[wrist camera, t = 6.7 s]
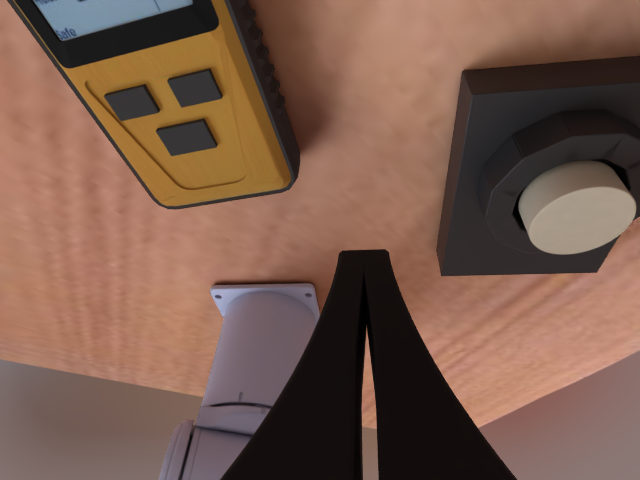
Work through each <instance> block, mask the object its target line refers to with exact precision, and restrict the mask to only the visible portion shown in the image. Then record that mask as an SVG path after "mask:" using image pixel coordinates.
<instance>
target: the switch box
mask: <svg viewBox="0 0 640 480" xmlns="http://www.w3.org/2000/svg"><path fill="white" fill-rule="evenodd" d="M580 160H591V161H597V162H601V163H604V164H606V165H608V166H609V167H611V168H612V169H613V170H614V171H615V173H616V174H617V175H618V177H619V178H620V180H621V181H622V183H623V184H624V185H625V187H626V188H627V190H628V191H629V192H630V194H631V195H632V197H633V198H634V200H635V202H636V214H635V217H634V219H633V221H634V220H635V219H636V218H638V217H639V216H640V56H636V57H624V58H612V59H600V60H588V61H576V62H564V63H552V64H540V65H527V66H515V67H503V68H491V69H479V70H467V71H462V77H461V84H460V91H459V97H458V104H457V111H456V118H455V125H454V132H453V139H452V146H451V153H450V160H449V166H448V173H447V180H446V187H445V194H444V201H443V208H442V215H441V222H440V229H439V235H438V242H437V249H436V251H437V256H438V261H439V267H440V272H441V276H469V275H513V274H556V273H596V272H597V271H598V270H599V268H600V266H601V265H602V263H603V262H604V260H605V258H606V257H607V255H608V253H609V252H610V250H611V249H612V247H613V245H614V244H615V242H616V240H617V239H618V237H619V236H620V235H619V236H618V237H616V238H615V239H613V240H612V241H610V242H608V243H606V244H604V245H602V246H600V247H598V248H595V249H592V250H589V251H585V252H581V253H575V254H552V253H548V252H545V251H542V250H540V249H539V248H537V247H536V246H535V245H534V244H533V243H532V242H531V240H530V238H529V235H528V233H527V230H526V228H525V225H524V223H523V220H522V218H521V215H520V213H519V208H518V206H519V200H520V197H521V194H522V193H523V191H524V190H525V188H526V187H527V186H528V185H529V184H530V183H531V182H532V181H533V180H534V179H535V178H536V177H538V176H539V175H540V174H542V173H544V172H546V171H548V170H551V169H553V168H555V167H558V166H560V165H563V164H565V163H568V162H573V161H580Z"/></svg>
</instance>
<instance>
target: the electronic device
mask: <svg viewBox="0 0 640 480" xmlns="http://www.w3.org/2000/svg"><path fill="white" fill-rule="evenodd" d="M7 1H8V2H9V3H10V5H11V6H12V8H13V9H14V10H15V12H16V13H17V14H18V16H19V17H20V19H21V20H22V21H23V23H24V24H25V25H26V27H27V28H28V30H29V31H30V32H31V34H32V35H33V36H34V38H35V39H36V41H37V42H38V43H39V45H40V46H41V47H42V49H43V50H44V52H45V53H46V54H47V56H48V57H49V58H50V60H51V61H52V62H53V64H54V65H55V67H56V68H57V69H58V71H59V72H60V73H61V75H62V76H63V78H64V79H65V80H66V82H67V83H68V84H69V86H70V87H71V89H72V90H73V91H74V93H75V94H76V95H77V97H78V98H79V100H80V101H81V102H82V104H83V105H84V106H85V108H86V109H87V111H88V112H89V113H90V115H91V116H92V117H93V119H94V120H95V122H96V123H97V124H98V126H99V127H100V128H101V130H102V131H103V133H104V134H105V135H106V137H107V138H108V139H109V141H110V142H111V143H112V145H113V146H114V148H115V149H116V150H117V152H118V153H119V154H120V156H121V157H122V159H123V160H124V161H125V163H126V164H127V165H128V167H129V168H130V170H131V171H132V172H133V174H134V175H135V176H136V178H137V179H138V181H139V182H140V183H141V185H142V186H143V187H144V189H145V190H146V192H147V193H148V194H149V196H150V197H151V198H152V199H153V200H154V201H155V202H156V203H157V204H158V205H160V206H162V207H165V208H167V209H183V208H189V207H195V206H202V205H208V204H214V203H220V202H227V201H233V200H239V199H245V198H251V197H257V196H264V195H270V194H276V193H282V192H284V191H287V190H289V189H290V188H291V187H292V185H293V184H294V182H295V181H296V179H297V178H298V173H299V166H300V151H299V147H298V144H297V141H296V139H295V136H294V133H293V130H292V127H291V124H290V121H289V118H288V115H287V112H286V109H285V107H284V103H285V98H284V96H283V95H281V94H280V92H279V87H280V83H279V81H278V80H276V79H275V77H274V74H273V73H274V70H275V68H274V65H273V64H271V63H269V60H268V57H267V56H268V53H269V50H268V48H267V47H265V46H264V45H263V42H262V39H261V38H262V35H263V32H262V30H261V29H259V28H258V27H257V25H256V22H255V17H256V15H257V14H256V12H255V10H254V9H252V8H251V7H250V4H249V2H248V0H7Z"/></svg>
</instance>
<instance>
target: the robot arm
mask: <svg viewBox="0 0 640 480" xmlns="http://www.w3.org/2000/svg"><path fill="white" fill-rule="evenodd" d="M210 293H211V295H212V297H213V299H214V301H215V303H216V305H217V307H218V308H219V310H220V312H221V314H222V316H223V318H224V320H223V324H222V328H221V332H220V336H219V339H218V343H217V347H216V351H215V355H214V359H213V363H212V367H211V371H210V375H209V379H208V383H207V387H206V391H205V395H204V399H203V403H202V406H200V410H199V414H198V417H197V422H196V425H193V422H194V420H192V419H185V420H184V421H183V423H180V424H179V425H178V426H176V427H175V429H174V431H173V433H172V437H171V439H170V443H169V446H168V449H167V452H166V456H165V459H164V462H163V466H162V470H161V473H160V476H159V480H363V466H362V411H361V408H362V385H363V371H364V356H365V341H366V326H367V331H368V339H369V348H370V356H371V364H372V373H373V381H374V389H375V399H376V415H377V441H378V471H379V480H517V479H516V478H515V476H514V475H513V474H512V473H511V471H510V470H509V469H508V468H507V466H506V465H505V464H504V462H503V461H502V460H501V459H500V458H499V456H498V455H497V454H496V452H495V451H494V449H493V448H492V447H491V445H490V444H489V443H488V442H487V440H486V439H485V438H484V436H483V435H482V434H481V432H480V431H479V429H478V428H477V426H476V425H475V424H474V422H473V421H472V419H471V418H470V416H469V415H468V413H467V412H466V411H465V409H464V408H463V406H462V405H461V403H460V402H459V400H458V399H457V398H456V396H455V395H454V393H453V391H452V390H451V388H450V387H449V385H448V383H447V382H446V380H445V379H444V377H443V375H442V374H441V372H440V370H439V369H438V367H437V365H436V364H435V362H434V360H433V358H432V357H431V355H430V353H429V351H428V349H427V348H426V346H425V344H424V342H423V340H422V338H421V336H420V334H419V332H418V330H417V328H416V326H415V324H414V322H413V320H412V318H411V316H410V313H409V311H408V309H407V307H406V304H405V302H404V300H403V297H402V295H401V292H400V290H399V287H398V284H397V281H396V279H395V276H394V272H393V269H392V266H391V261H390V257H389V252H388V251H387V250H385V249H380V250H348V251H342V252H340V253H339V257H338V263H337V267H336V271H335V275H334V279H333V282H332V285H331V288H330V291H329V294H328V297H327V299H326V302H325V305H324V307H323V310H322V313H321V315H320V312H319V307H318V302H317V297H316V292H315V287H314V286H313V285H312V284H309V283H296V284H250V285H214V286H212V287H211V289H210Z"/></svg>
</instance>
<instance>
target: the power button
mask: <svg viewBox="0 0 640 480" xmlns="http://www.w3.org/2000/svg"><path fill="white" fill-rule="evenodd" d="M518 208H519V213H520V215H521V218H522V220H523V223H524V225H525V228H526V230H527V233H528V235H529V238H530V240H531V242H532V243H533V244H534V245H535V246H536V247H537V248H539V249H540V250H542V251H545V252H548V253H552V254H575V253H581V252H585V251H589V250H592V249H595V248H598V247H600V246H602V245H604V244H606V243H608V242H610V241H612V240H613V239H615V238H616V237H618V236H619V235H620V234H621V233H622V232H624V231H625V230H626V229H627V228H628V226H629V225H630V224H631V222H632V221H633V219H634V217H635V214H636V202H635V200H634V198H633V197H632V195H631V194H630V192H629V191H628V190H627V188H626V187H625V185H624V184H623V183H622V181H621V180H620V178H619V177H618V175H617V174H616V173H615V171H614V170H613V169H612V168H611V167H609V166H608V165H606V164H604V163H601V162H597V161H591V160H580V161H573V162H568V163H565V164H563V165H560V166H558V167H555V168H553V169H551V170H548V171H546V172H544V173H542V174H540V175H539V176H538V177H536V178H535V179H534V180H533V181H532V182H531V183H530V184H529V185H528V186H527V187H526V188H525V190H524V191H523V193H522V194H521V197H520V200H519V206H518Z"/></svg>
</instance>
